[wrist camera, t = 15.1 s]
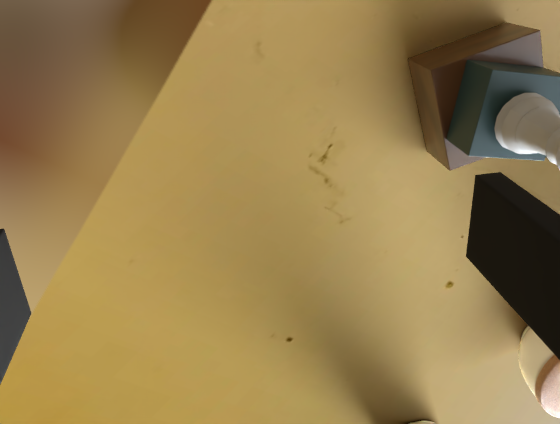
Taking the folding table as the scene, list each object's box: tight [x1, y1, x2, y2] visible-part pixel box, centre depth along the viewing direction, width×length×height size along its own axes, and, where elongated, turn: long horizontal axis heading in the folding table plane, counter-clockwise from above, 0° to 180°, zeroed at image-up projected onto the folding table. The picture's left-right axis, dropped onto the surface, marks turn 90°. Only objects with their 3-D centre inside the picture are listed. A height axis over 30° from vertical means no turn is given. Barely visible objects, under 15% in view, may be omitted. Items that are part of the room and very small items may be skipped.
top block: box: [447, 60, 560, 161], centre depth 42 cm, size 6×6×4 cm
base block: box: [408, 23, 543, 170], centre depth 46 cm, size 9×9×5 cm
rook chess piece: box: [494, 93, 560, 170], centre depth 37 cm, size 4×4×8 cm
